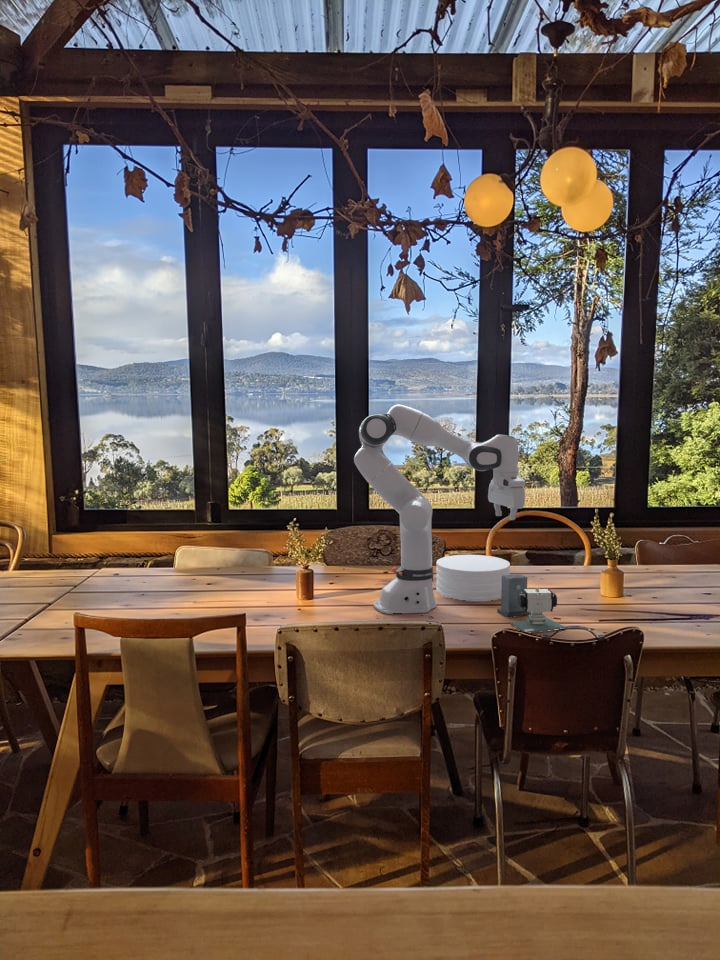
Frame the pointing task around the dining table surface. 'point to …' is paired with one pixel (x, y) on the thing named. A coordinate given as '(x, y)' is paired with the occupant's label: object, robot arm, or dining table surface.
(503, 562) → the plate stack
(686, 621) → the dining table surface
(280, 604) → the dining table surface
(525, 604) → the pneumatic valve
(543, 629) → the mat
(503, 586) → the block
